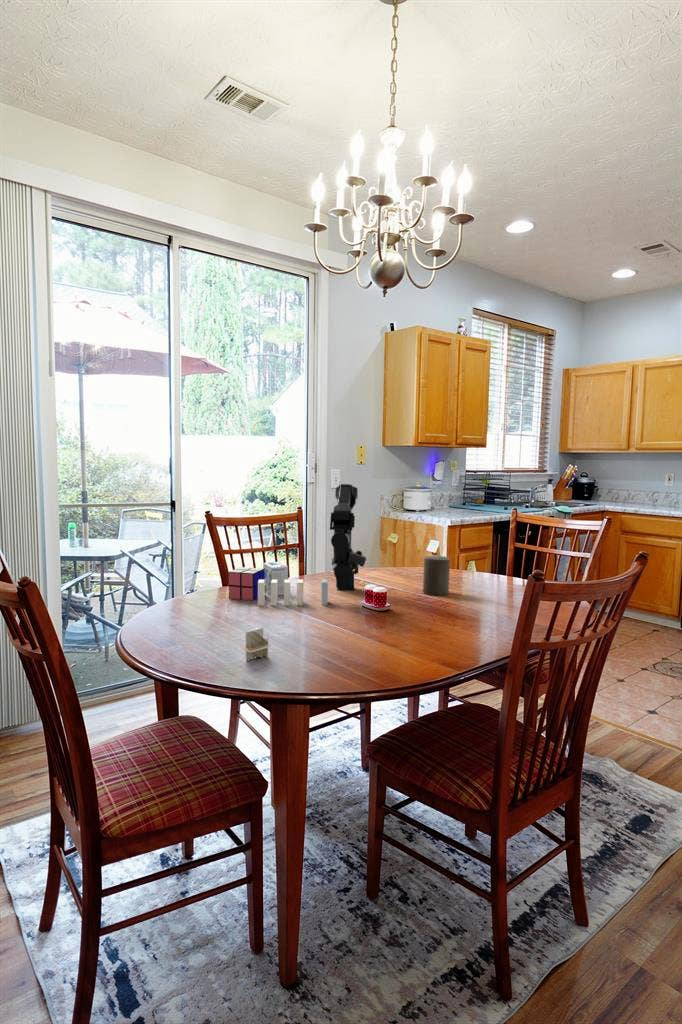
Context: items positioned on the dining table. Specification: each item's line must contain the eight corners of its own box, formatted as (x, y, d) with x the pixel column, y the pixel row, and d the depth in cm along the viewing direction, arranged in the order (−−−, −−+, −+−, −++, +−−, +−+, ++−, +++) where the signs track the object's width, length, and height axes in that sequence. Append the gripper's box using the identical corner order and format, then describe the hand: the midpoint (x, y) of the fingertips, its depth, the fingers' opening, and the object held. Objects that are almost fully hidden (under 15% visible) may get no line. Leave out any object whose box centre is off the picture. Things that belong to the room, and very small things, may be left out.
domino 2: (277, 601, 207) (277, 579, 206) (276, 605, 202) (276, 582, 201) (271, 601, 207) (271, 579, 206) (270, 605, 202) (270, 582, 201)
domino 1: (264, 601, 206) (264, 579, 206) (263, 605, 201) (263, 582, 201) (259, 601, 206) (259, 579, 206) (257, 605, 201) (257, 582, 201)
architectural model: (272, 658, 149) (272, 630, 148) (250, 665, 144) (250, 636, 143) (263, 655, 151) (263, 627, 150) (242, 662, 146) (241, 633, 145)
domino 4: (303, 601, 207) (303, 579, 206) (302, 605, 202) (303, 582, 201) (297, 601, 207) (297, 579, 206) (297, 605, 202) (297, 582, 201)
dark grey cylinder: (431, 596, 216) (433, 556, 215) (418, 591, 225) (419, 552, 224) (453, 595, 220) (455, 555, 219) (439, 589, 229) (441, 551, 227)
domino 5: (321, 605, 203) (321, 582, 202) (321, 601, 208) (321, 579, 207) (327, 605, 203) (327, 582, 202) (327, 601, 208) (327, 579, 207)
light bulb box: (262, 590, 224) (262, 562, 223) (279, 588, 227) (279, 561, 226) (271, 596, 215) (271, 567, 214) (288, 594, 218) (288, 566, 217)
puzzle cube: (253, 601, 207) (253, 573, 206) (228, 599, 210) (227, 571, 209) (265, 595, 217) (265, 568, 216) (240, 593, 220) (240, 566, 219)
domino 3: (290, 601, 207) (290, 579, 206) (289, 605, 202) (289, 582, 201) (284, 601, 207) (284, 579, 206) (284, 605, 202) (284, 582, 201)
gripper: (367, 549, 195) (367, 595, 196) (362, 541, 213) (361, 583, 215) (334, 549, 194) (333, 595, 196) (331, 541, 213) (331, 583, 214)
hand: (341, 589), depth 205 cm, fingers closed
